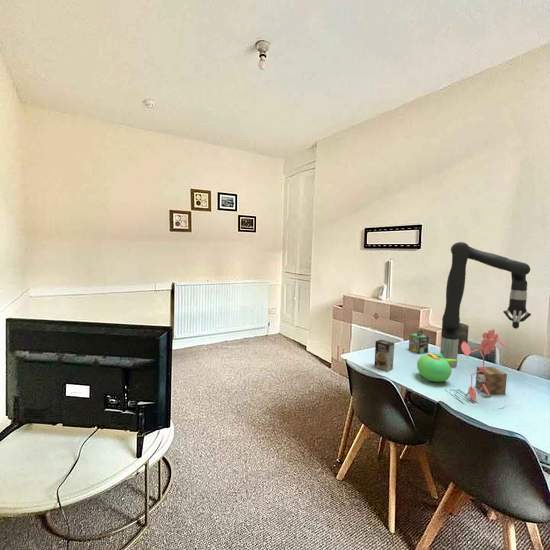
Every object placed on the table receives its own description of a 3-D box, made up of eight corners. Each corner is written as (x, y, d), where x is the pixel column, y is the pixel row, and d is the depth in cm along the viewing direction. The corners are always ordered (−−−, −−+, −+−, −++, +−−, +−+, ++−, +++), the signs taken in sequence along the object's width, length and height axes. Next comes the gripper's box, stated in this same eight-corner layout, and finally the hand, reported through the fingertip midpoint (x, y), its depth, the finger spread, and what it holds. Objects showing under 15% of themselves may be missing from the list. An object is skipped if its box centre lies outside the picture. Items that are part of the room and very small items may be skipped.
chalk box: (417, 348, 225) (418, 328, 223) (428, 352, 216) (429, 331, 215) (407, 350, 221) (409, 329, 219) (418, 354, 213) (419, 332, 211)
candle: (456, 349, 222) (458, 322, 220) (468, 352, 217) (470, 324, 215) (453, 352, 217) (455, 323, 215) (465, 355, 212) (467, 326, 210)
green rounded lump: (410, 373, 181) (412, 348, 180) (438, 372, 183) (440, 347, 181) (428, 387, 163) (430, 360, 162) (459, 386, 165) (461, 359, 163)
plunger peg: (482, 386, 157) (483, 375, 157) (475, 381, 163) (476, 370, 162) (505, 385, 158) (506, 375, 157) (497, 381, 163) (498, 370, 163)
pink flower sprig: (451, 398, 152) (457, 327, 147) (486, 389, 162) (494, 323, 157) (482, 415, 138) (491, 337, 133) (519, 404, 147) (528, 332, 143)
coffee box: (373, 367, 190) (374, 341, 188) (379, 364, 194) (380, 339, 192) (387, 372, 183) (389, 344, 181) (393, 369, 187) (394, 342, 185)
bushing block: (487, 394, 156) (489, 374, 155) (475, 386, 165) (476, 366, 164) (505, 394, 156) (507, 374, 155) (492, 386, 165) (493, 366, 164)
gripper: (504, 298, 177) (502, 328, 178) (534, 300, 170) (531, 331, 172) (502, 296, 183) (500, 325, 185) (531, 298, 177) (528, 328, 179)
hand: (515, 328), depth 178 cm, fingers closed
